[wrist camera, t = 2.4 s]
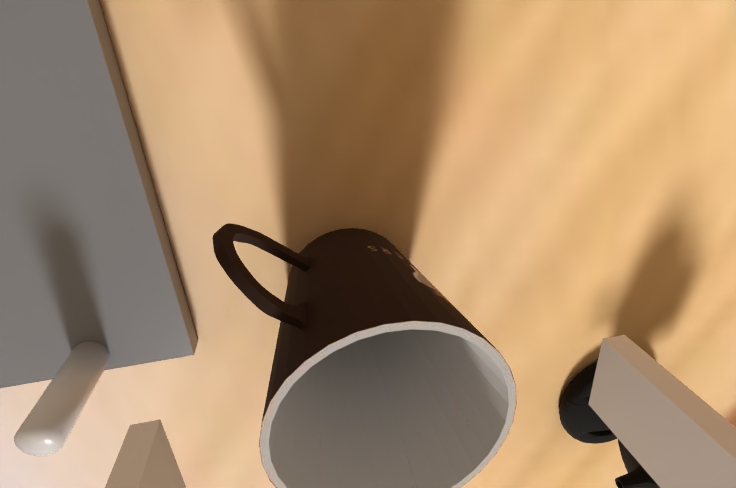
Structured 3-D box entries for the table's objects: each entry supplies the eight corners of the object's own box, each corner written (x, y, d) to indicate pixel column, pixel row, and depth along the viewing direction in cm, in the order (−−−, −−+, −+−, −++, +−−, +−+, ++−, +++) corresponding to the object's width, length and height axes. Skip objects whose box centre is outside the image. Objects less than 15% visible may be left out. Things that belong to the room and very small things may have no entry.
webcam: (641, 420, 33) (776, 556, 24) (552, 444, 32) (659, 595, 23) (658, 340, 30) (823, 465, 21) (560, 364, 29) (688, 506, 20)
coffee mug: (436, 321, 25) (524, 470, 16) (295, 367, 24) (306, 549, 16) (396, 127, 20) (494, 188, 11) (217, 178, 19) (166, 288, 10)
